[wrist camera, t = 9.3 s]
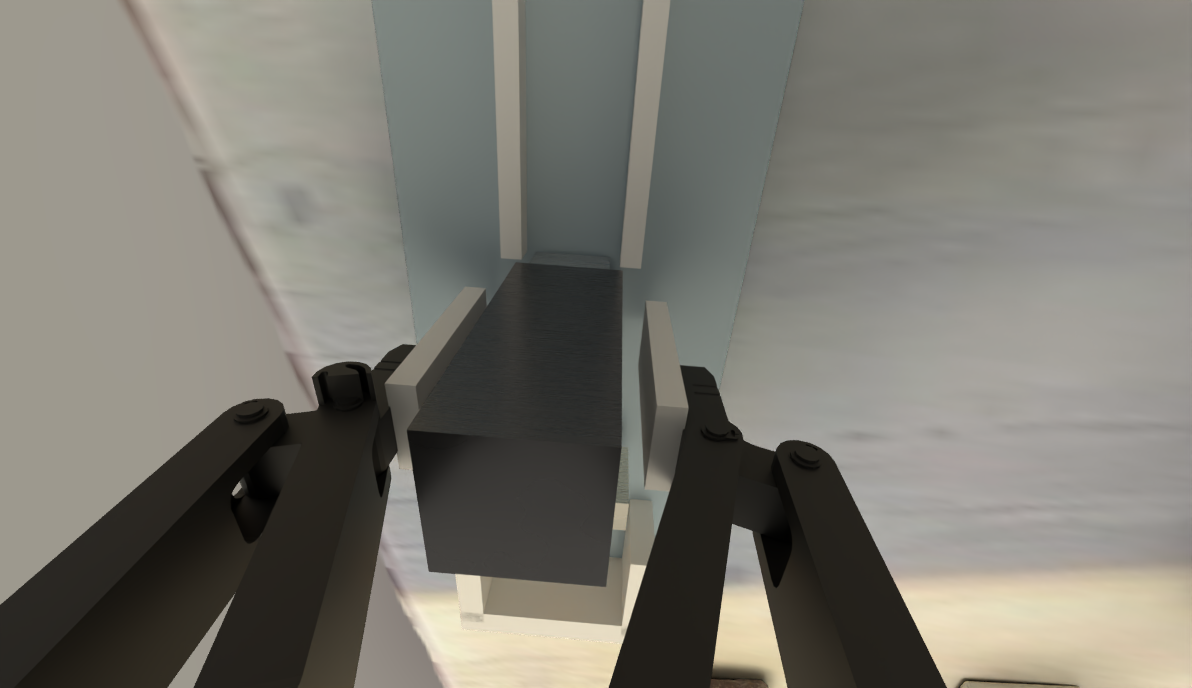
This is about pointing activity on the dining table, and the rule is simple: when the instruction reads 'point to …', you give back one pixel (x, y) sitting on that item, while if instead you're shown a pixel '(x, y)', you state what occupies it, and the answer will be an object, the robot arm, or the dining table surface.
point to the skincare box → (1008, 685)
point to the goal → (564, 595)
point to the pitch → (587, 155)
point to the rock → (737, 683)
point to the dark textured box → (529, 431)
